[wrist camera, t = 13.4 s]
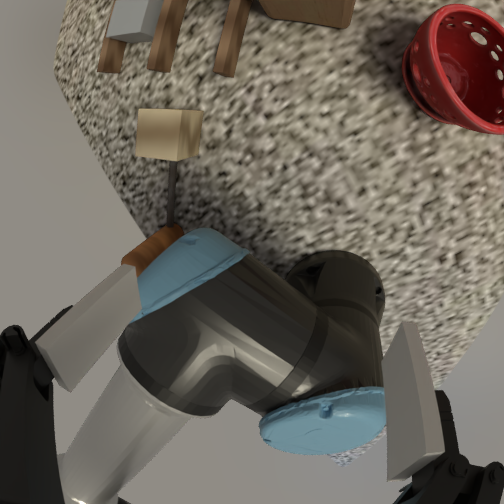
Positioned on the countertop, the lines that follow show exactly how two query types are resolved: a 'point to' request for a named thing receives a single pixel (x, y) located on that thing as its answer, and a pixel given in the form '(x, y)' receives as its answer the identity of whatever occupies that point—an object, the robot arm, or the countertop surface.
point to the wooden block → (311, 11)
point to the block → (134, 20)
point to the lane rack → (169, 34)
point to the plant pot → (458, 69)
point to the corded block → (174, 149)
